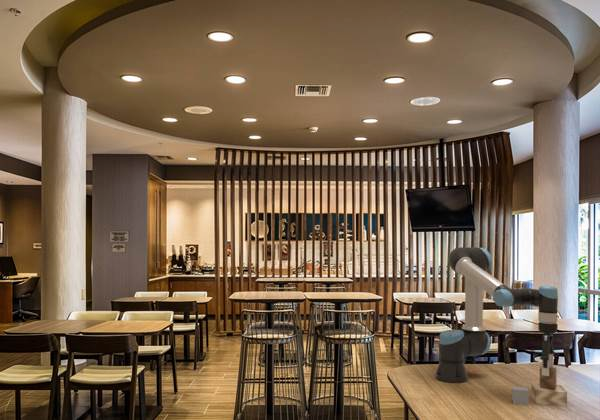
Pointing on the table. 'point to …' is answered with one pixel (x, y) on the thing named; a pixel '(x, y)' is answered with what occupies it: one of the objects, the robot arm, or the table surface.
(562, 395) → the birch block
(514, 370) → the table surface
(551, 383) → the walnut block
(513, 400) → the slate cube
